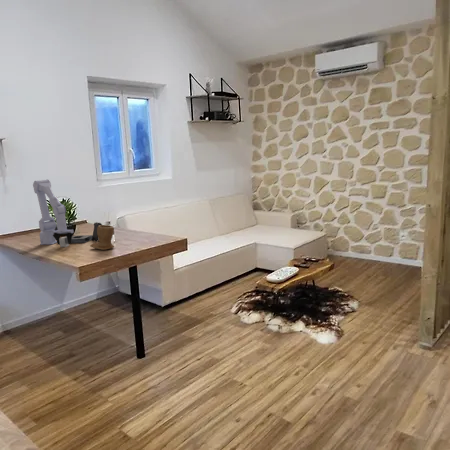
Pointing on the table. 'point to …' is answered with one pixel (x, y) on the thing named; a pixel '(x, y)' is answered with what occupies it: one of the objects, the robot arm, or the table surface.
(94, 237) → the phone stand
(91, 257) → the table surface
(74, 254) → the table surface
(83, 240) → the square hole plate
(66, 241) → the steel peg
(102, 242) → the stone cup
